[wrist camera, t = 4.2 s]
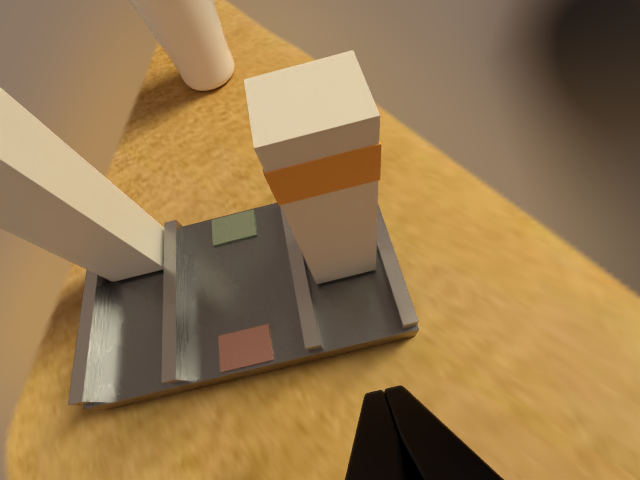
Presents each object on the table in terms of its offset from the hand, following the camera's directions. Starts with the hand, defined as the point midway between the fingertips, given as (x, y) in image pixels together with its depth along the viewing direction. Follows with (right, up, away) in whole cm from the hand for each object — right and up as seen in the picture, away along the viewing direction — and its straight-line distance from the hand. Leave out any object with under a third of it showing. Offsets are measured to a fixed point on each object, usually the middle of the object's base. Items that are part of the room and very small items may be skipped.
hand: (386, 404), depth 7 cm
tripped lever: (0, +3, +13) cm, 13 cm away
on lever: (-14, +3, +15) cm, 20 cm away
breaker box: (-6, 0, +15) cm, 16 cm away
